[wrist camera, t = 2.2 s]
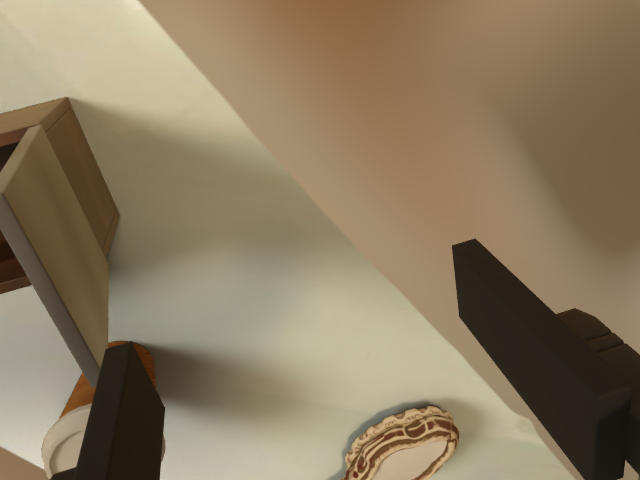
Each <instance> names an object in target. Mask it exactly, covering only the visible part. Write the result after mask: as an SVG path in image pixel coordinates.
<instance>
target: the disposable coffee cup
mask: <svg viewBox="0 0 640 480" xmlns="http://www.w3.org/2000/svg"><path fill="white" fill-rule="evenodd" d="M127 342H128V341H115V342H110V343H108V348H110V347H114V346H117V345H120V344H124V343H127ZM133 344H134V346H135V348H136V350H137V352H138V354H139V356H140V359H141V361H142V363H143V365H144V367H145V369H146V371H147V373H148V375H149V377H150V379H151V381H152V383H153V385H154V387H155V389H156V381H155V369H154V360H153V357H152V356H151V354H150V353H149V352H148V351H147V350H146V349H145V348H143V347H142V346H140V345H138V344H136V343H133ZM95 389H96V387H95V388H92V387H91V386H90V384H89V382H88V380H87V379H86V377H85V375H84V374H83V372H82V374H81V376H80V378H79V380H78V382H77V384H76V386H75V388H74V390H73V392H72V394H71V396H70V398H69V400H68V402H67V404H66V406H65V408H64V410H63V412H62V414H61V416H60V418H59V420H58V421H57V422H56V423H55V424H54V425H53V426H52V427H51V428H50V429H49V431H48V433H47V434H46V436H45V438H44V441H43V444H42V448H41V451H42V459H43V462H44V468H45V472H46V475H47V477H48V479H49V480H50V478H51V477H52V475H53V474H55V473H58V472H62V471H65V470H68V469H71V468H74V467H76V465H77V461H78V457H79V453H80V449H81V445H82V441H83V437H84V433H85V429H86V425H87V421H88V417H89V413H90V409H91V405H92V401H93V397H94V393H95ZM164 453H165V439H164V435H163V441H162V454H161V461H162V460H163V457H164Z"/></svg>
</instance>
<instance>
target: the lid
mask: <svg viewBox="0 0 640 480" xmlns="http://www.w3.org/2000/svg"><path fill="white" fill-rule="evenodd" d="M0 230H1V231H2V233H3V235H4V237H5V238H6V240H7V242H8V244H9V245H10V247H11V249H12V251H13V252H14V254H15V256H16V257H17V259H18V261H19V263H20V264H21V266H22V268H23V270H24V271H25V273H26V275H27V276H28V278H29V280H30V282H31V283H32V285H33V287H34V289H35V290H36V292H37V294H38V296H39V297H40V299H41V301H42V302H43V304H44V306H45V308H46V309H47V311H48V313H49V315H50V316H51V318H52V320H53V322H54V323H55V325H56V327H57V328H58V330H59V332H60V334H61V335H62V337H63V339H64V341H65V342H66V344H67V346H68V348H69V349H70V351H71V353H72V354H73V356H74V358H75V360H76V361H77V363H78V365H79V367H80V368H81V370H82V372H83V374H84V375H85V377H86V379H87V380H88V382H89V384H90V386H91V387H92V388H95V387H96V385H97V381H98V377H99V373H100V369H101V365H102V361H103V357H104V353H105V349H107V348H108V296H109V264H108V262H107V260H106V258H105V256H104V254H103V252H102V250H101V248H100V246H99V243H98V241H97V239H96V237H95V235H94V233H93V231H92V229H91V227H90V225H89V223H88V221H87V219H86V216H85V214H84V212H83V210H82V208H81V206H80V204H79V202H78V200H77V198H76V196H75V194H74V192H73V189H72V187H71V185H70V183H69V181H68V179H67V177H66V175H65V173H64V171H63V169H62V167H61V164H60V162H59V160H58V158H57V156H56V154H55V152H54V150H53V148H52V146H51V144H50V142H49V140H48V137H47V135H46V133H45V131H44V129H43V127H42V125H37V126H34V127H30V128H28V130H27V132H26V133H25V135H24V136H23V138H22V139H21V141H20V142H19V144H18V146H17V147H16V149H15V150H14V152H13V153H12V155H11V156H10V158H9V160H8V161H7V163H6V164H5V166H4V167H3V169H2V170H1V172H0Z"/></svg>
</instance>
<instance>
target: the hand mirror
mask: <svg viewBox="0 0 640 480" xmlns="http://www.w3.org/2000/svg"><path fill="white" fill-rule="evenodd" d="M458 441H459V431H458V428H457V426H456V425H455V424H454V423H453V417H452V415H451V414H450V413H449V412H448V411H442V410H440V409H438V408H437V407H432V406H428V407H426V408H423V409H415V408H413V409H410V410H406V411H404V412H403V413H401V414H398V415H391V416H389V417H387V418H385V419H383V421H382V422H381V423H379V424H377V425H373V426H371V427H370V428H368V429H367V431H366V432H364V433H363V434H362V435H360V436H358V437H357V438H356V440H355V441H354V442H353V443H352V449H351V451H349V452H347V454H346V457H345V461H346V463H347V465H348V467H347V469H346V476H345V477H344V478H343V479H342V480H427V479H428V478H430V477H431V476H432V475H433V474H435V473H436V472H437V471H438V470H439V469H440V468H441V467H442V466H443V464H444V463H445V462H446V461H447V460H448V459H449V458H450V457H451V456H452V455H453V454H454V452H455V450H456V448H457V446H458Z"/></svg>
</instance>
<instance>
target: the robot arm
mask: <svg viewBox="0 0 640 480" xmlns="http://www.w3.org/2000/svg"><path fill="white" fill-rule="evenodd" d="M452 250H453V261H454V270H455V280H456V289H457V299H458V309H459V317H460V318H461V320H462V321H463V322H464V323H465V324H466V326H467V327H468V329H469V330H470V331H471V332H472V334H473V335H474V336H475V338H476V339H477V340H478V342H479V343H480V344H481V346H482V347H483V348H484V349H485V350H486V352H487V353H488V354H489V356H490V357H491V359H492V360H493V361H494V362H495V364H496V365H497V366H498V368H499V369H500V370H501V371H502V373H503V374H504V375H505V377H506V378H507V379H508V381H509V382H510V383H511V384H512V386H513V387H514V388H515V390H516V391H517V392H518V394H519V395H520V396H521V397H522V399H523V400H524V401H525V403H526V404H527V405H528V407H529V408H530V409H531V410H532V412H533V413H534V414H535V416H536V417H537V418H538V420H539V421H540V422H541V423H542V425H543V426H544V427H545V429H546V430H547V431H548V432H549V434H550V435H551V436H552V438H553V439H554V440H555V441H556V443H557V444H558V446H559V447H560V448H561V449H562V451H563V452H564V453H565V455H566V456H567V457H568V459H569V460H570V461H571V462H572V464H573V465H574V466H575V468H576V469H577V470H578V472H579V473H580V474H581V475H582V477H583V478H584V479H585V480H617V479H620V478H623V475H624V465H625V460H626V461H627V462H628V463H629V464H630V465H631V466H632V468H633V469H634V470H635V471H636V472H637V473H638V474H639V479H638V480H640V355H639V354H638V353H637V352H636V351H635V350H633V349H632V348H631V347H630V346H628V345H627V344H624V342H623V340H622V339H620V338H619V337H618V336H617V335H616V334H615V333H612V332H611V330H610V329H609V328H608V327H606V326H605V325H604V324H603V323H602V322H601V321H599V320H598V319H597V318H596V317H594V316H592V315H589V314H587V313H585V312H583V311H580V310H578V309H576V308H574V309H571V310H568V311H565V312H561V313H559V314H555V313H554V312H553V311H552V310H551V309H550V308H549V307H547V306H546V305H545V304H544V303H543V302H542V301H541V300H540V299H539V298H538V297H537V296H536V295H535V294H534V293H532V291H530V290H529V289H528V288H527V287H526V286H525V285H524V284H523V283H522V282H521V281H520V280H519V279H518V278H517V277H516V276H515V275H513V274H512V273H511V272H510V271H509V270H508V269H507V268H506V267H505V266H504V265H503V264H502V263H501V262H500V261H499V260H498V259H496V258H495V257H494V256H493V255H492V254H491V253H490V252H489V251H488V250H487V249H486V248H485V247H484V246H482V244H481V243H480V242H478V241H477V240H476V239H472V240H469V241H466V242H462V243H459V244H456V245H452ZM164 415H165V407H164V405H163V403H162V401H161V399H160V397H159V395H158V393H157V391H156V389H155V387H154V385H153V383H152V381H151V379H150V377H149V375H148V373H147V371H146V369H145V367H144V365H143V363H142V361H141V359H140V356H139V354H138V352H137V350H136V348H135V346H134V344H133V342H132V341H130V342H127V343H124V344H120V345H117V346H114V347H110V348H107V349H105V353H104V357H103V361H102V365H101V369H100V373H99V377H98V381H97V385H96V389H95V393H94V397H93V401H92V405H91V409H90V413H89V417H88V421H87V425H86V429H85V433H84V437H83V441H82V445H81V449H80V453H79V457H78V461H77V465H76V467H74V468H71V469H68V470H65V471H62V472H58V473H55V474H53V475H52V477H51V478H50V480H160V467H161V454H162V441H163V428H164Z"/></svg>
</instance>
